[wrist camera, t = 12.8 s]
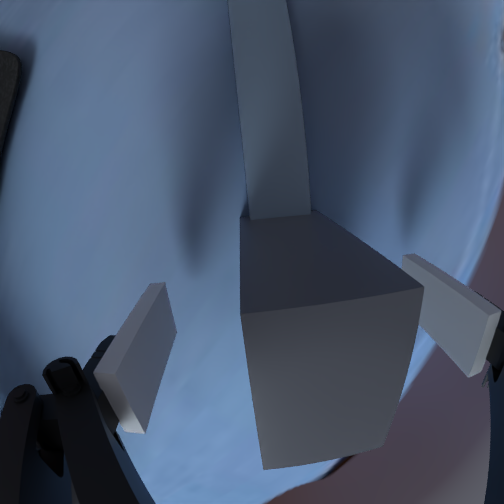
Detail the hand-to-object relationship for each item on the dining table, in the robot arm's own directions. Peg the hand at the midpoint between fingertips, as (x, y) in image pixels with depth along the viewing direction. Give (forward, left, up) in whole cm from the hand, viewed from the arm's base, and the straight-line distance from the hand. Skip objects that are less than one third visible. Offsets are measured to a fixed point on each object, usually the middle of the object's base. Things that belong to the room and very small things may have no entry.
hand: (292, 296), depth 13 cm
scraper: (+11, 0, -3) cm, 11 cm away
